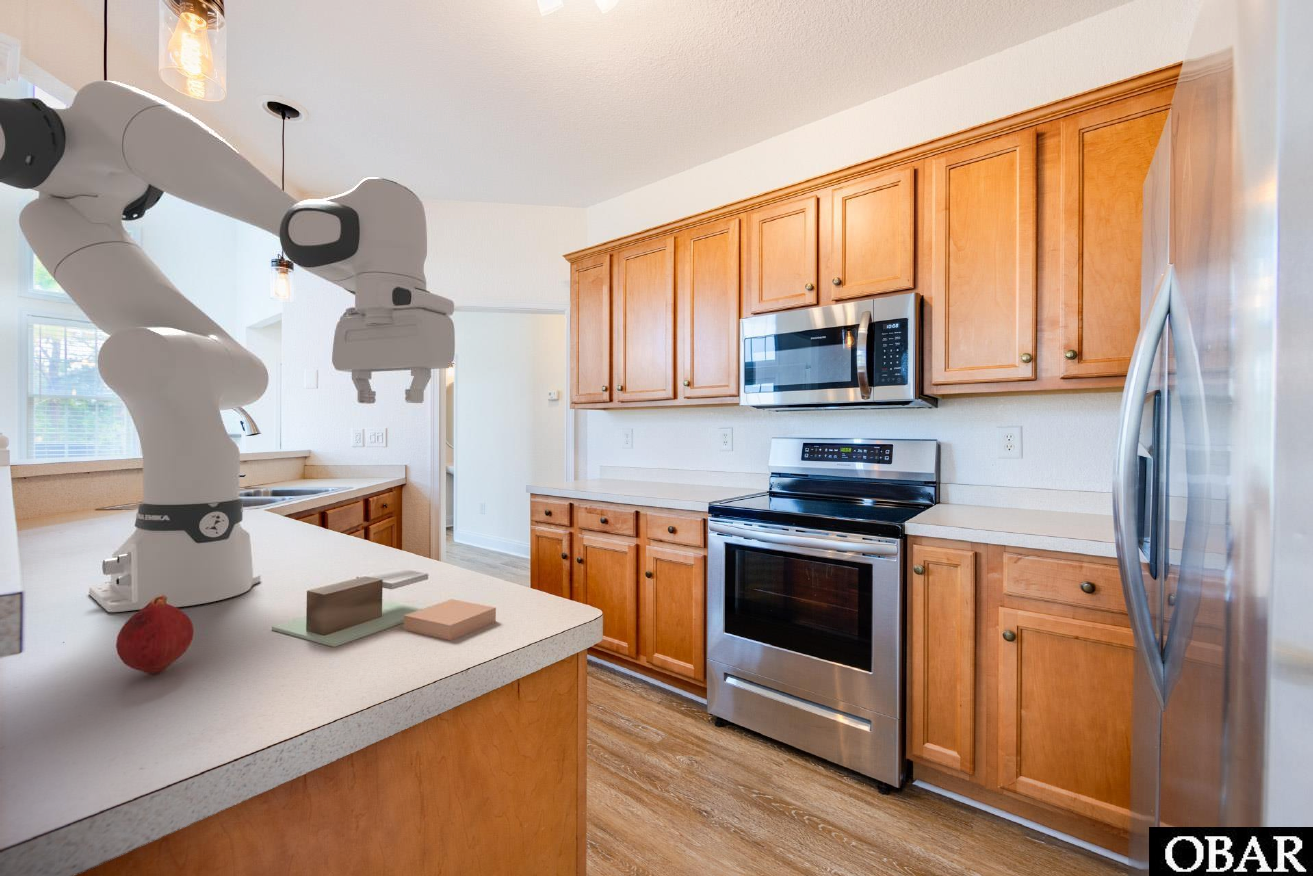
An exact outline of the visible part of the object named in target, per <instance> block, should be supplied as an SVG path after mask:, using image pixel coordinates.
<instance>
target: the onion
mask: <svg viewBox="0 0 1313 876" xmlns="http://www.w3.org/2000/svg"><path fill="white" fill-rule="evenodd" d="M166 600H167V597H166V596H164V595H158V596H156V597H154V598H153V599H152V600H151V601H150V603H149V604H148V605H147V606H145V607H144V608H143V609H139V610H138V611H137V612H135V613H134V614H133V615H132V616H131V617H130V618H129V619H128V620H127V621H126V622H125V623H124V625H122V627H121V629H120V631H119V632H118V635H117V638H116V642H115V643H116V644H115V648H116V652H117V656H118V657H119V659H120V660H121V662H122V663H123V664H124V665H125V666H127V667H129V668H131V669H133V670H136V671H139V672H141V673H146V674H149V675H158V674H162V673H163V672H164V671H166V670H167V668H168V667H169V666H170V665H172V664H173V663H174V662H176V660H178V659H179V658H180V657H181V656H182V655H184V653H186V651H188V648H189V647H190V646H191V644H192V641H193V640H194V639H193V638H194V633H195V629H194V625H193V622H192V620H191V619H190V617H189V616H188V614H186V613H185V612H184V611H183V610H182V609H179V607H174V606H171V605H169V604H166Z"/></svg>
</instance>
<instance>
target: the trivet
mask: <svg viewBox="0 0 1313 876" xmlns="http://www.w3.org/2000/svg"><path fill="white" fill-rule="evenodd" d="M421 609H423V608H422V607H416V606H411V605H406V604H402V603H397V602H392V601H388V600H383V599H382V617H380V618H377V619H374V620H371V621H368V622H365V623H362V624H359V625H356V626H353V627H350V628H347V629H343V630H340V631H337V632H334V633H331V634H328V635H325V636H322V635H319V634H315V633H311V632H308V631H306V616H303V617H301V618H297V619H293V620H291V621H286V622H282V623H280V624H276V625H272V626H271V631H276V632H279V633H281V634H282V633H283V634H285V635H290V636H293V637H295V638H296V637H297V638H299V639H304V640H307V641H310V642H311V641H312V642H314V643H318V644H322V645H326V646H327V647H328V646H329V647H333V648H335V647H338V646H341V645H344V644H347V643H350V642H353V641H355V640H358V639H361V638H364V637H367V636H369V635H372V634H375V633H378V632H381V631H383V630H386V629H389V628H392V627H395V626H398V625H400V624H404V615H406V614H409V613H412V612H415V611H418V610H421Z"/></svg>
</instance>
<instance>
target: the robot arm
mask: <svg viewBox="0 0 1313 876" xmlns="http://www.w3.org/2000/svg"><path fill="white" fill-rule="evenodd" d="M0 183H2V184H5V185H7V186H10V187H13V188H16V189H20V190H21V189H22V190H31V191H35V192H38V198H35V199H33V200H31V201H29V202H28V203H27V204H26V205H25V206H24V207H23V208H22V210H21V211H20V214H19V218H18V223H19V228H20V230H21V232H22V235H23V237H24V238H25V240H26V242H27V244H28V245H29V247H30V248H31V250H32V251H33V253H34V254H35V256H36V258H37V259H38V260H39V262H40V263H41V265H42V266H43V268H45V270H46V271H47V272H48V274H49V275H50V276H51V277H52V279H53V280H54V281H55V282H56V283H57V284H58V285H59V287H60V288H61V289H62V290H63V291H64V292H65V294H67V295H68V296H69V298H70V299H71V300H72V301H73V303H75V305H76V306H78V308H79V309H80V310H81V311H82V312H83V314H85V316H86V317H87V318H88V319H89V320H90V321H91V322H92V323H93V324H94V325H95V326H96V327H97V328H98V329H99V330H100V331H102V332H103V333H104V334H107V335H108V338H107V339H105V341H104V342H103V343H102V344H101V347H100V349H99V352H98V355H97V369H98V372H99V374H100V375H99V376H100V377H101V379H102V381H103V382H104V383H105V385H107V387H108V388H109V389H111V391H113V392H114V394H116V395H117V396H118V397H119V398H120V399H121V401H122V402H123V403H124V405H125V406H126V408H127V410H128V413H129V414H130V417H131V419H132V421H133V424H134V427H135V429H136V432H137V435H138V439H139V442H140V446H141V447H140V448H141V456H142V492H143V493H142V495H143V497H142V502H140V504H139V506H138V507H137V508H138V509H137V512H136V514H135V523H134V527H135V528H136V529H135V530H134V532H133V533H132V534H131V535H130V536H129V537H127V539H126V540H125V541H124V542H123V543H122V544H121V545H120V546H119V547H118V548H117V550H114V552H113V553H112V556H111V557H110V558H104V559H103V561H102V565H101V567H102V568H101V569H102V570H101V571H102V574H103V575H104V576H108V575H109V576H110V581H107V582H102V583H99V584H95V585H92V586H90V587H89V590H88V595H89V596H91V597H92V598H93V599H94V601H96V602H97V603H98V604H99V605H100V606H101V607H102V608H103V609H104V610H106V612H108V613H118V612H119V613H120V612H128V611H137V610H138V611H139V610H141V609H143V608H144V607H145V606H147V605H148V604H149V603H150V601H151V600H152V599H153V598H154V597H156V596H158V595H164V596H166V597H167V600H166V604H169V605H171V606H174V607H176V608H181V607H189V606H196V605H201V604H208V603H212V602H216V601H221V600H226V599H229V598H232V597H237V596H239V595H241V594H244V593H245V592H247V591H249V590H251V588H252V586H253V585H255V584H258V583H260V582H261V581H262V579H261V574H259V573H254V568H253V559H252V558H253V557H252V556H253V555H252V544H251V543H252V542H251V534H250V533H249V531H247V530H246V529H245V528H244V527H242V525H241V523H240V522H243V513H244V506H243V499H242V498H240V465H241V464H240V462H241V461H240V459H241V458H240V456H241V455H240V450H239V447H238V445H237V443H236V442H235V441H234V440H233V439H232V438H231V436H229V434H228V431H227V430H226V427H225V424H224V421H223V417H222V414H221V411H227V410H234V409H237V408H242V407H245V406H249V405H251V404H253V403H256V402H257V401H258V400H260V398H261V397H262V396H263V395H264V394H265V392H266V390H267V388H268V385H269V372H268V369H267V366H266V365H265V363H264V362H263V361H262V360H261V359H260V358H259V357H258V356H256V355H255V354H253V352H251V351H249V350H248V349H246V348H245V347H244V346H242V345H241V344H240V343H239V342H238V341H237V340H235V339H234V337H233V336H231V335H230V334H229V333H228V332H227V331H226V330H224V328H222V327H221V326H220V325H219V324H218V323H217V322H215V320H213V319H212V318H211V317H210V316H208V315H207V314H206V313H205V312H204V311H202V309H200V308H199V307H198V306H196V305H195V304H194V303H193V301H190V299H188V298H187V296H185V295H184V294H183V293H182V292H181V291H180V290H179V289H178V288H177V287H176V286H175V285H174V284H173V282H171V280H170V279H169V278H168V277H167V276H166V275H165V274H164V273H163V271H162V270H161V269H160V268H159V266H157V264H156V263H155V262H154V261H153V260H152V259H151V258H150V256H148V254H147V253H146V252H145V251H144V250H143V249H142V247H141V246H140V245H139V244H138V243H137V242H136V241H135V239H133V238H132V237H131V235H130V234H129V233H128V231H127V230H126V229H125V226H124V225H123V221H124V222H125V221H126V222H127V221H128V222H131V221H136V220H138V219H142V218H143V217H145V214H146V211H148V210H150V209H151V208H153V207H155V205H156V204H157V203H158V202H159V201H160V199H161V198H162V196H163V195H164V193H166V194H168V195H170V196H172V197H176V198H177V199H180V200H182V201H185V202H187V203H189V204H193V205H195V206H198V207H201V208H204V209H207V210H210V211H213V212H215V213H219V214H220V215H223V216H226V217H229V218H232V219H235V220H237V221H239V222H243V223H246V224H249V225H252V226H253V227H257V228H259V229H261V230H264V231H265V232H268V233H271V234H272V235H274V236H276V237H278V238H279V243H280V246H281V249H282V251H283V253H284V254H285V256H286V258H288V260H290V261H291V262H292V263H293V264H296V265H297V266H298V267H300V268H301V269H303V270H305V271H307V272H309V273H311V274H313V275H316V276H318V277H320V278H321V279H323V280H326V281H328V282H330V283H333V284H334V285H336V286H339V287H340V288H342V289H344V290H345V291H347V292H349V293H350V294H352V295H354V297H355V298H354V307H353V306H352V307H348V308H346V310H345V311H344V313H343V315H341V316H340V318H339V321H337V324H336V326H335V329H334V334H333V335H334V337H333V344H332V354H331V355H332V357H331V362H332V364H333V367H334V369H335V370H336V371H338V372H339V371H340V372H346V373H351V380H352V383H353V384H354V388H355V389H356V391H357V398H356V400H357V402H358V403H359V404H366V405H367V404H370V405H371V404H375V403H376V401H377V400H376V396H377V395H376V394H377V393H376V390H372V387H371V383H370V380H372V373H373V372H375V373H376V372H393V371H394V372H398V371H410V376H411V377H413V378H412V381H411V383H410V386H409V388H407V389H406V388H405V391H404V395H405V397H404V400H405V402H406V403H408V404H423V402H424V399H425V398H424V397H425V394H424V393H425V392H424V391H425V390H426V388H427V386H428V384H429V382H430V380H431V378H432V370H439V369H441V370H443V369H444V370H445V369H449V368H450V367H451V365H452V364H453V362H454V359H455V353H456V352H455V351H456V349H455V347H456V344H455V343H456V339H455V338H456V337H455V335H456V334H455V333H456V332H455V324H454V321H453V320H452V318H451V317H450V316H453V314H454V311H455V303H454V301H453V300H452V299H449V298H447V297H444V296H441V295H439V294H436V293H435V294H434V293H432V292H430V291H429V290H427V279H426V276H425V270H424V269H425V262H426V259H427V256H428V233H427V232H428V229H427V220H426V212H425V208H424V204H423V202H422V200H421V199H420V198H419V197H418V196H417V195H416V194H415V193H414V192H413V191H411V190H410V188H408V187H407V186H404V185H402V184H400V183H398V182H395V181H393V180H391V179H387V178H382V177H377V176H376V177H374V176H373V177H367V178H364V179H362V180H361V181H360V182H359V183H358V184H357V185H356V186H355V187H353V188H352V189H350V190H349V191H346V192H344V193H341V194H338V195H335V196H331V197H328V198H323V199H307V200H306V199H305V200H302V201H299V200H298V199H296V198H294V197H293V196H292V195H290V194H288V193H287V192H286V191H285V190H283V189H282V188H280V187H279V186H278V185H277V184H276V183H274V182H273V181H272V180H271V179H270V178H269V177H268V176H267V175H265V173H263V172H262V171H261V170H259V169H258V167H256V166H255V165H254V164H252V163H251V162H250V161H249V160H248V159H247V158H245V156H243V155H242V154H241V153H240V152H239V151H238V150H236V149H235V148H234V146H232V145H231V144H230V143H228V142H227V141H226V140H225V139H224V138H222V137H221V136H220V135H219V134H218V133H216V132H215V131H214V130H212V129H211V128H209V127H208V126H206V125H205V124H204V123H203V122H202V121H200V120H198V119H197V118H195V117H194V116H192V115H190V114H189V113H188V112H185V111H184V110H182V109H180V108H179V107H177V106H175V105H174V104H171V103H169V102H167V101H165V100H163V99H161V98H159V97H157V96H155V95H152V94H150V93H148V92H145V91H143V90H140V89H138V88H136V87H133V86H129V85H126V84H124V83H120V82H117V81H114V80H113V81H111V80H97V81H92V82H89V83H88V84H87V83H86V85H84V86H83V87H81V88H80V89H79V90H78V91H77V92H76V94H75V96H74V99H73V101H72V104H71V105H70V106H69V107H67V108H55V107H50V106H49V105H47V104H46V103H45V102H43V100H41V99H40V98H37V97H35V98H34V97H28V98H27V97H26V98H24V97H23V98H9V97H7V98H6V97H0Z"/></svg>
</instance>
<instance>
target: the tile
mask: <svg viewBox="0 0 1313 876" xmlns="http://www.w3.org/2000/svg"><path fill="white" fill-rule="evenodd" d="M496 615H497V607H495V606H489V605H485V604H480V603H473V602H468V601H463V600H457V599H452V598H451V599H447V600H445V601H442V602H439V603H436V604H433V605H430V606H428V607H425V608H422V609H421V610H418V611H415V612H412V613H409V614H406V615H404V623H403V630H406V631H410V632H413V633H416V634H417V633H418V634H422V635H426V636H430V637H433V638H434V637H435V638H438V639H442V640H446V641H453V640H454V639H457V638H459V637H462V636H464V635H466V634H469V633H471V632H474V631H475V630H478V629H481V628H482V627H485V626H488V625H490V624H492V623H494V622H497V621H496V620H497V619H496V618H497V616H496Z"/></svg>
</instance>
